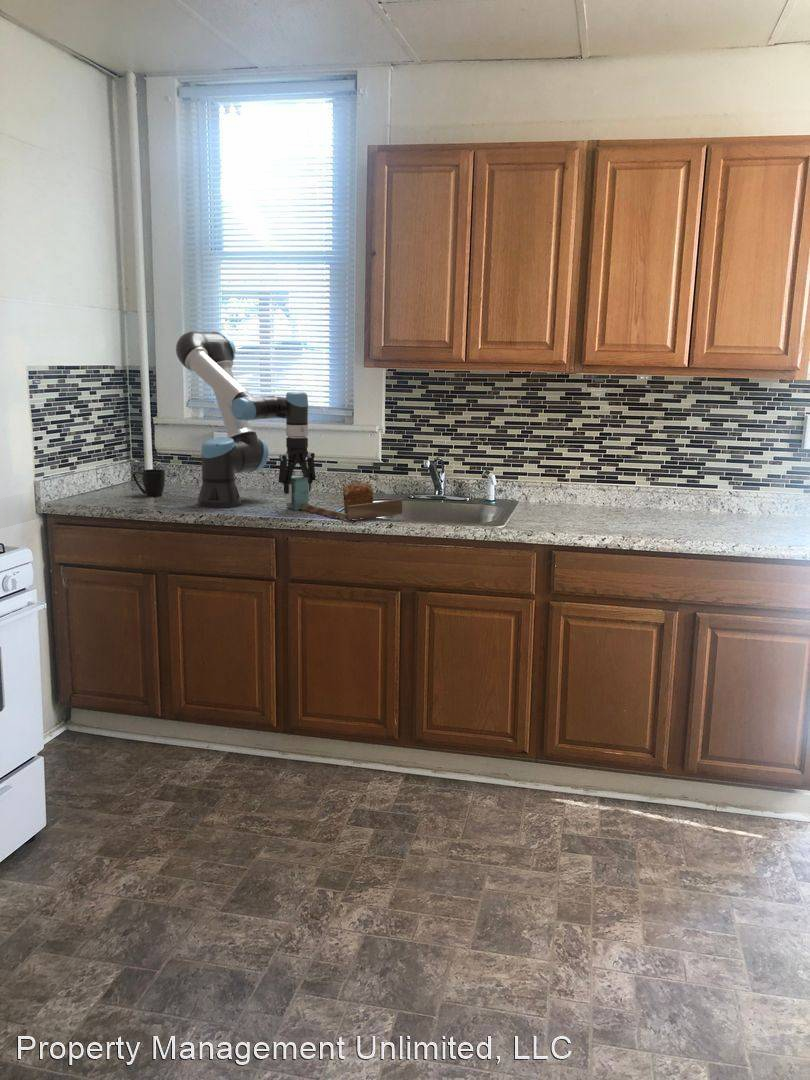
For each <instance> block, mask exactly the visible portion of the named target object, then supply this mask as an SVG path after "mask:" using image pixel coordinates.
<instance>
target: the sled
mask: <svg viewBox="0 0 810 1080" xmlns="http://www.w3.org/2000/svg"><path fill="white" fill-rule="evenodd" d="M290 485H292V503H286V508H287V509H291V510H294V509H295V511H298V510H299V509H302V511H305V510H306V511H307V512H309V511H310V512H309V513H313V512H314V513H313V514H317V513H318V515H321V514H322V516H325V515H327V516H326V517H329V516H332V517H331V518H333V517H337V518H342V519H346V520H352V519H360V518H366V519H365V520H368V519H374V518H375V519H376V518H382V517H389V516H397V515H402V514H403V499H392V500H384V501H383V500H382V501H378V502H377V501H376V502H374V501H373V503H366V504H358V505H350V506H347V514H345V512H341V511H336V510H334V509H333V510H332V509H328V508H324V507H320V506H317V505H311V504H309V501H308V478H306V477H303V476H300V475H292V477H291V480H290ZM306 511H305V512H306ZM337 518H336V519H337ZM346 520H345V521H346Z"/></svg>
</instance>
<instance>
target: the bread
mask: <svg viewBox="0 0 810 1080" xmlns="http://www.w3.org/2000/svg"><path fill="white" fill-rule="evenodd" d="M342 492H343V494H342V495H343V510H344V513H345V514H347V506H350V505H358V504H366V503H374V488H373V486H372V484H370V483H367V482H362V481H361V482H359V481H358V482H357V481H356V482H350V483H347V484H345V485H344V486H343V488H342Z"/></svg>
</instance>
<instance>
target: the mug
mask: <svg viewBox="0 0 810 1080" xmlns="http://www.w3.org/2000/svg"><path fill="white" fill-rule="evenodd" d="M136 474H140V475H142V483H143V486H144V488H143V487H142V486H141V484H140V483H139V481H138V480H137V476H136ZM132 478H133V481H134V483H136V485H137V487H138V488H139V490H140V491H141V492H142V493H143V494H144V495H146V497H150V498H155V497H156V498H157V497H162V496H163V493H164V489H165V483H166V470H164V469H159V468H158V469H157V468H156V469H155V468H152V469H150V468H149V469H145V470H144V469H143V470H142V471H134V472H133V473H132Z"/></svg>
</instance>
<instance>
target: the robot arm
mask: <svg viewBox="0 0 810 1080" xmlns="http://www.w3.org/2000/svg"><path fill="white" fill-rule="evenodd" d="M175 352H176V356H177V358H178V360H179V362H180V364H182V366H184V367H185V368H186V369H187V370H188V371H190V372H194V373H195V374H196V375H197V376H199V378H201V379H202V380H203V381H204V382H205V383H206V384H207V385H208V386H209V387H210V388H211V389H212V390H213V394H214V396H215V399H216V402H217V406H218V409H219V412H220V415H221V417H222V421H223V425H224V427H225V431H226V433H227V437H220V438H218V437H217V438H212V439H208V440H207V439H206V441H204V442H203V443H202V444H201V452H200V456H201V481H202V482H201V486H200V491H199V493H198V496H197V505H198V506H199V507H203V506H205V507H204V508H213V507H223V508H231V507H237V506H240V505H241V497H240V493H239V489H238V487H237V485H236V474H243V473H253V472H257V471H259V470H262V469H263V468H264V467H265V466H266V464H267V462H268V461H269V460H268V459H269V448H268V445H267V443H266V442H265V441H264V440H263V439H261V438H258V435H257V432H256V431H255V430H254V429H252V428H251V427H250V423H249V421H253V420H265V419H266V420H269V419H283V420H285V421H286V423H285V424H286V428H285V429H286V430H285V433H286V434H285V435H286V436H287V437H286V438H285V439H286V441H285V442H286V443H285V444H286V445H285V446H286V452H285V453H283V454H279V456H278V457H279V472H278V483H279V484H283V493H284V494H285V500H284V501H285V503H286V504H287V503H292V485H290V480H291V477H292V476H293V473H294V470H295V467H296V465H297V464H298V465H299V467H300V470H301V474H302V477H306V478H308V502H309V501H310V492H311V490H312V489H311V484H312V483H313V481H315V480H316V471H315V469H316V468H315V456H316V454H315V452H309V450H308V446H309V438H308V437H307V436H309V431H308V430H309V419H308V418H309V415H308V412H309V400H308V399H309V397H308V394H307V393H306V392H303V391H289V392H288V391H287V392H286V393H285V396H275V395H268V396H267V395H266V396H260V397H259V396H258V397H255V396H253V395H252V394H251V393H250V392H249V391H248V390H247V389H245V388H244V387H243V386H242V385H241V384H240V383H239V382H238V381H237V380H235V377H234V373H233V371H232V367H234V366H233V365H234V360H235V357H236V346H235V343H234V341H233V339H232V338H231V337H230V335H228V334H226V333H223V332H219V331H211V332H210V331H187V332H185V333H184V334H182V335H181V336H180V337H179V339H178V340H177V342H176V345H175Z"/></svg>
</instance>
